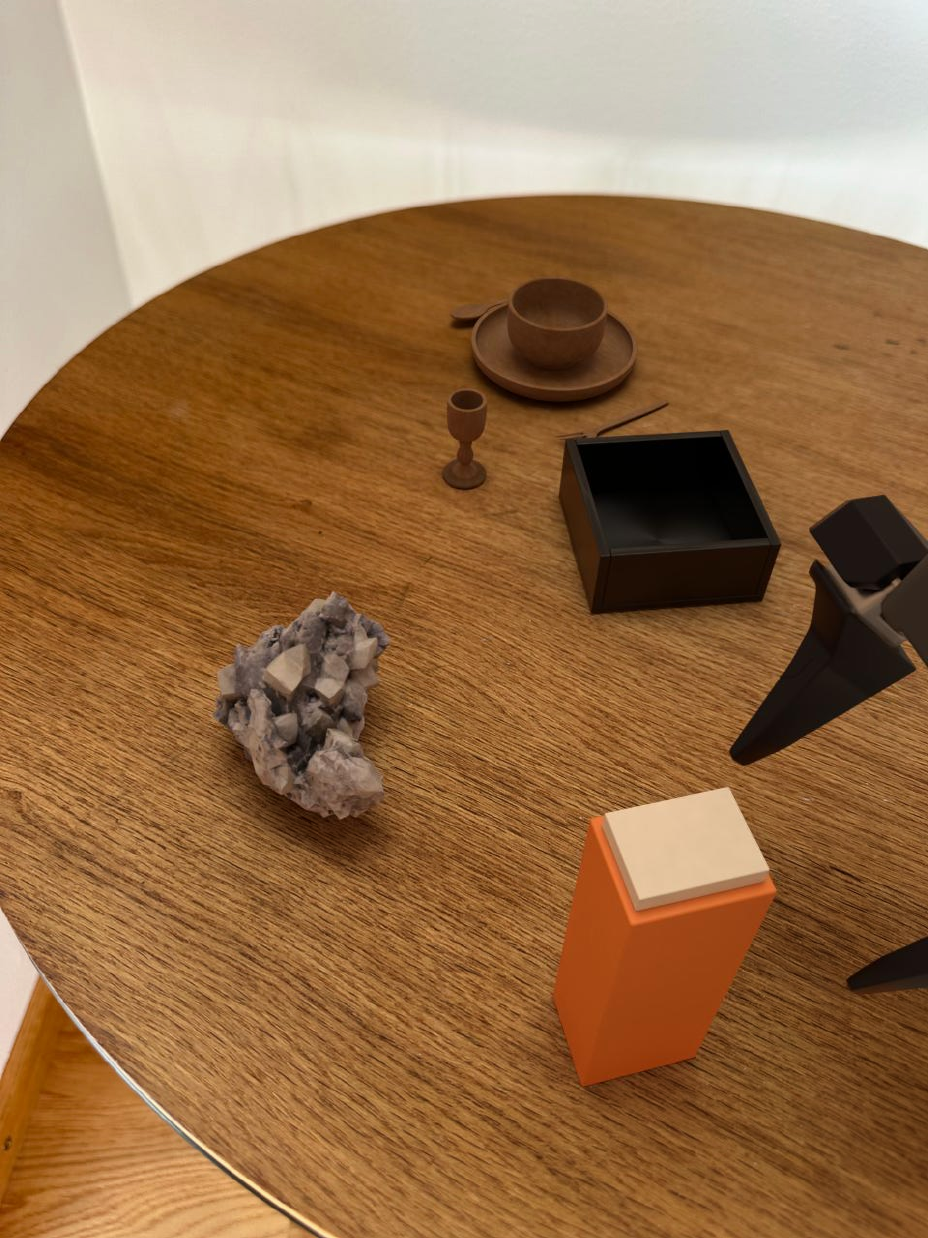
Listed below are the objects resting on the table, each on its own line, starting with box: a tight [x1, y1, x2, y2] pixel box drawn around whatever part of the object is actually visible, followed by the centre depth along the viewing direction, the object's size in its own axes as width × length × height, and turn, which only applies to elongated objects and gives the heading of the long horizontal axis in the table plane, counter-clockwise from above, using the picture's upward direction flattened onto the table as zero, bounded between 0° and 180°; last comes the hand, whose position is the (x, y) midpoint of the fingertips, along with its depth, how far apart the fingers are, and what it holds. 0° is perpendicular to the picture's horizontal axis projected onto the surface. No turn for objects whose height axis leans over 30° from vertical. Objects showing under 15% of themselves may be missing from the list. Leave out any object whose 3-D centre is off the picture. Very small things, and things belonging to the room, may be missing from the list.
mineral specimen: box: [210, 590, 393, 820], centre depth 52 cm, size 12×9×10 cm
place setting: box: [442, 275, 670, 490], centre depth 74 cm, size 18×20×6 cm
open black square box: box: [558, 429, 782, 615], centre depth 64 cm, size 10×10×5 cm
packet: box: [552, 786, 778, 1087], centre depth 40 cm, size 5×4×15 cm
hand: (789, 864), depth 38 cm, fingers open, 9 cm apart
